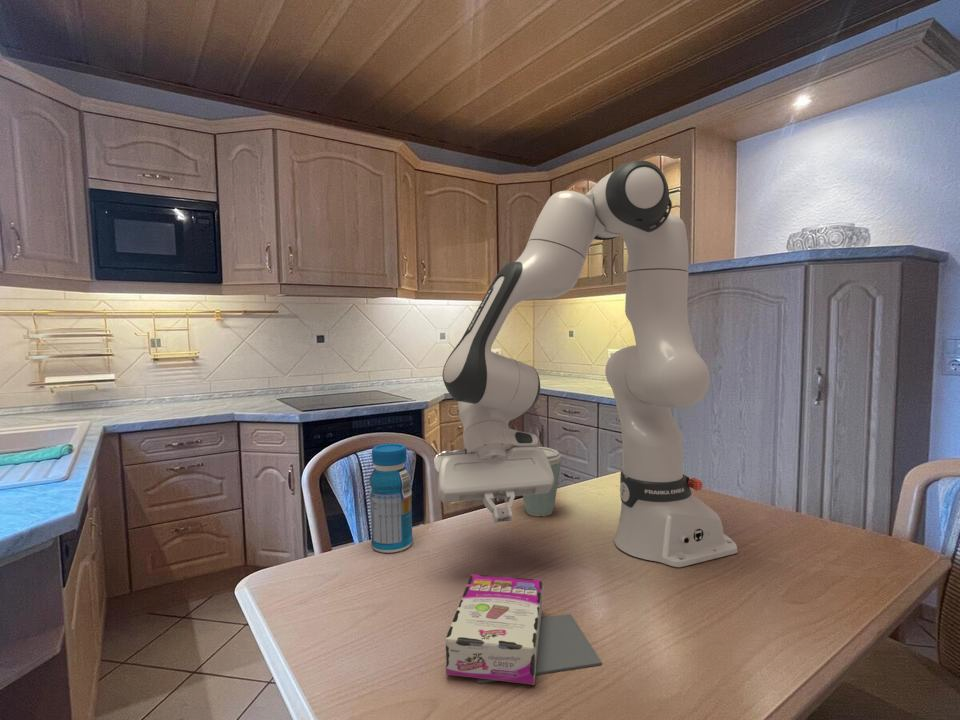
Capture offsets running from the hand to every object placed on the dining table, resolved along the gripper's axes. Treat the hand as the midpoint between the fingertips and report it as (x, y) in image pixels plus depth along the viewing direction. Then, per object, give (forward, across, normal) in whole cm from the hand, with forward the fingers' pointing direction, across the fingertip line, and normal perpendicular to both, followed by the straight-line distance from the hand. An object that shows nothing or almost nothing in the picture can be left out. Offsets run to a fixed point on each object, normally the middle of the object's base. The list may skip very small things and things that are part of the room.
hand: (503, 520), depth 81 cm
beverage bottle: (-7, -18, +23) cm, 30 cm away
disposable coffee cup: (-14, +16, +30) cm, 37 cm away
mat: (+19, 0, -3) cm, 19 cm away
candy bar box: (+10, -1, +2) cm, 11 cm away
